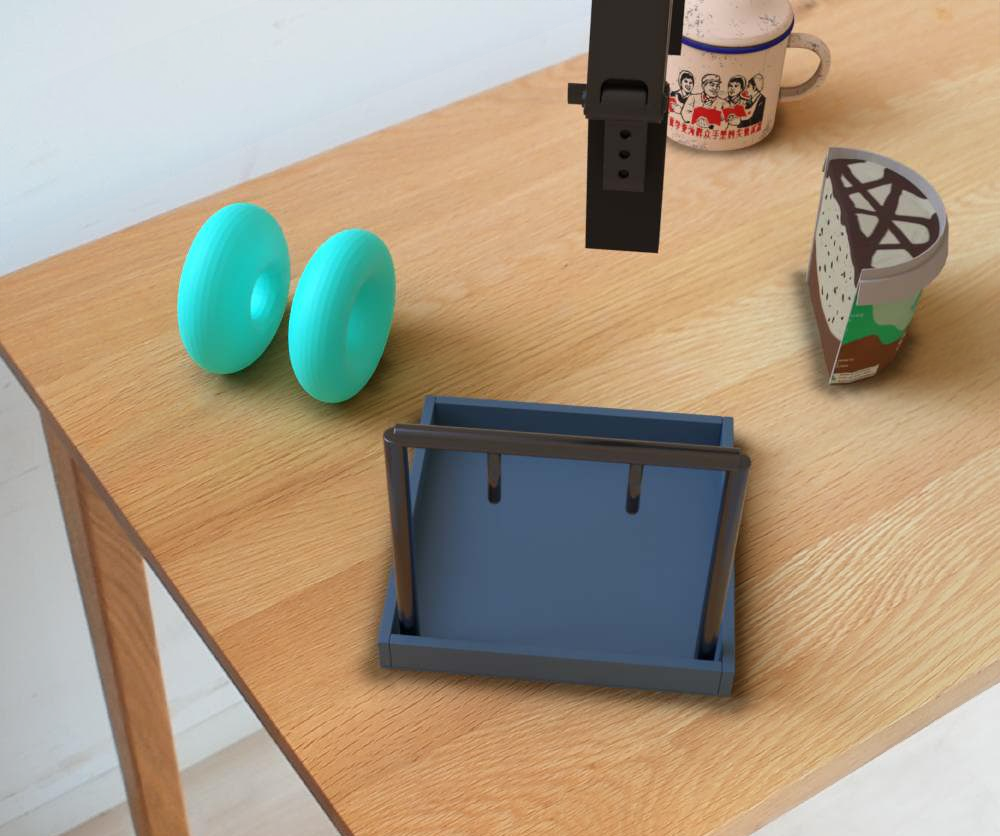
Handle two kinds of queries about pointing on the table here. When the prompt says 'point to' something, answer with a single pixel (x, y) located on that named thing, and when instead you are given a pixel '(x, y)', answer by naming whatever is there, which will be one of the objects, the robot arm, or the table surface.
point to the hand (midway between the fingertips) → (637, 140)
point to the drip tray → (564, 556)
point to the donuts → (263, 297)
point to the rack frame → (572, 449)
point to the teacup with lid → (734, 72)
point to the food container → (871, 258)
